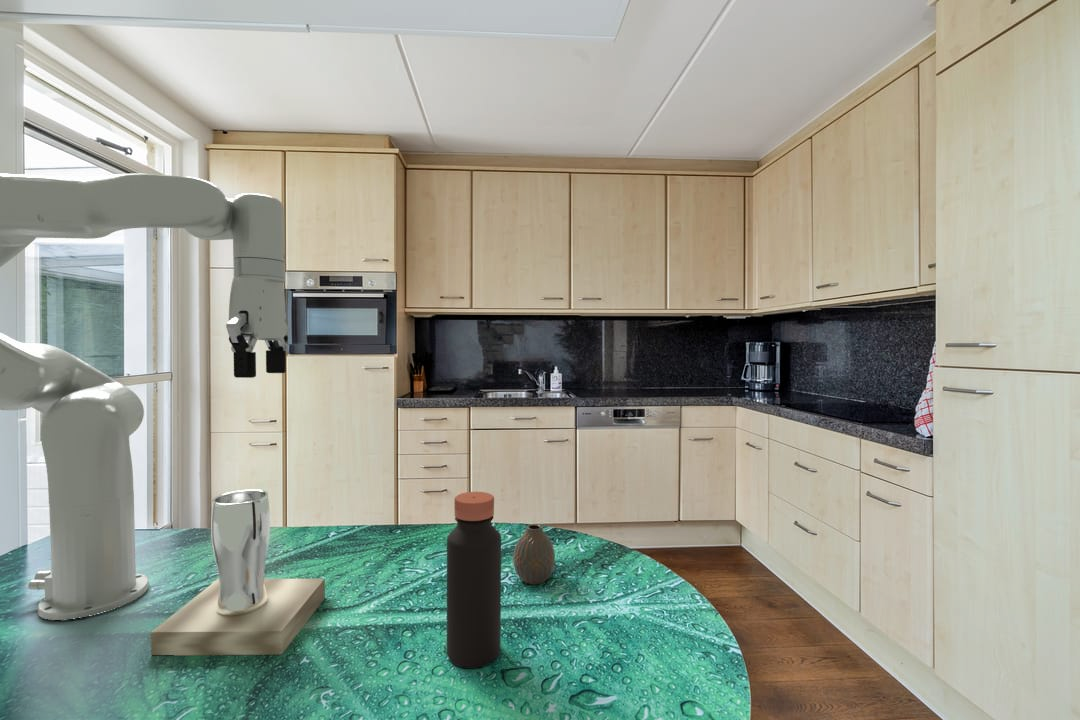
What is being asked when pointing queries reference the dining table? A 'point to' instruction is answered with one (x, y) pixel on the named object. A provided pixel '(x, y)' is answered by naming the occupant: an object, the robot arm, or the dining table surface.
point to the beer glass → (240, 549)
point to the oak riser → (240, 622)
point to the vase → (534, 555)
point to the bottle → (473, 583)
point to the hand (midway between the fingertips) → (261, 375)
